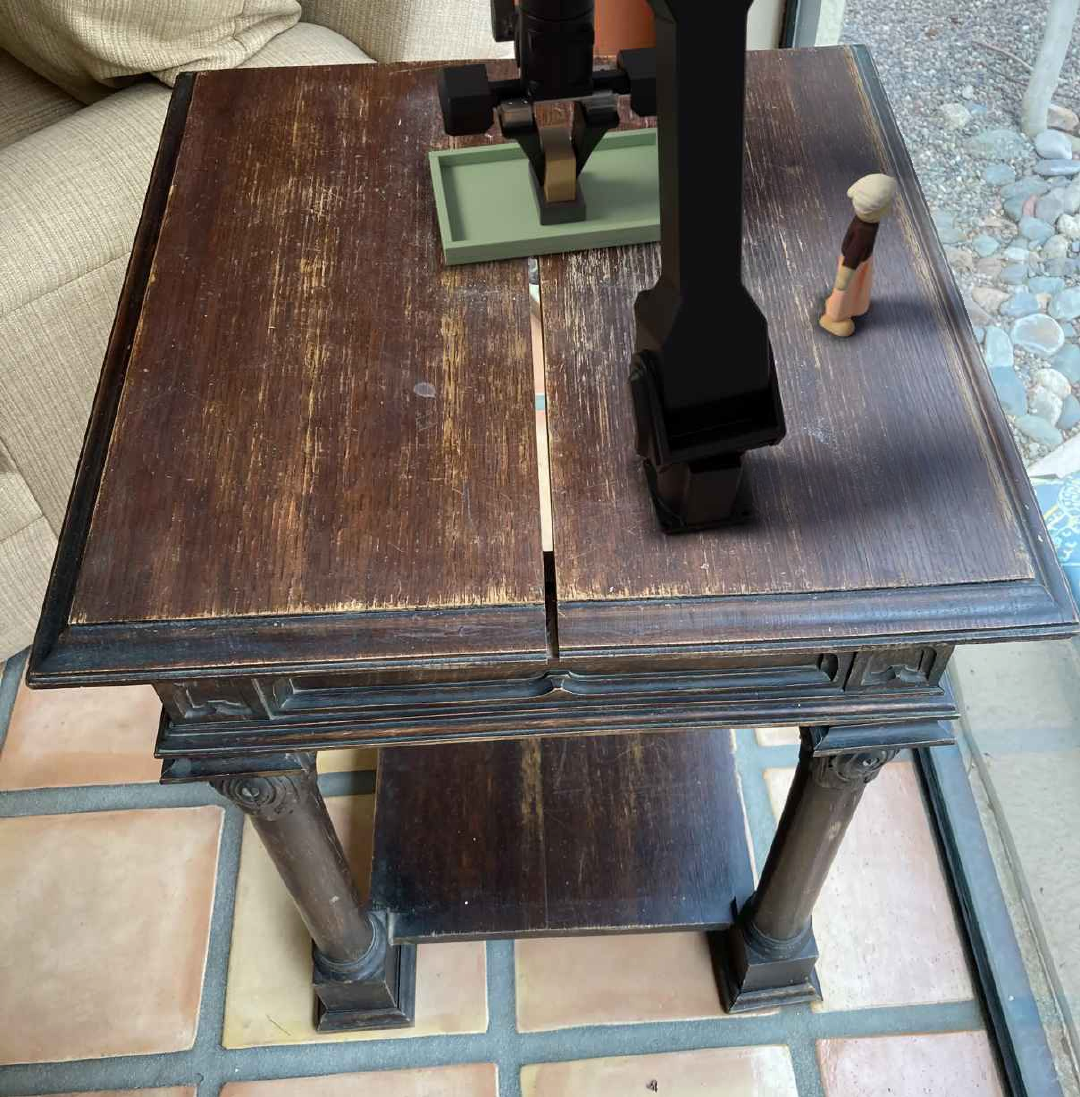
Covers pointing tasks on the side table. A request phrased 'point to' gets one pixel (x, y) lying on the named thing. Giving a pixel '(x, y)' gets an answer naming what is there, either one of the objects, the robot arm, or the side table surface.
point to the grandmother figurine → (858, 253)
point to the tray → (509, 208)
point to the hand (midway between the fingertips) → (556, 181)
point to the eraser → (557, 179)
